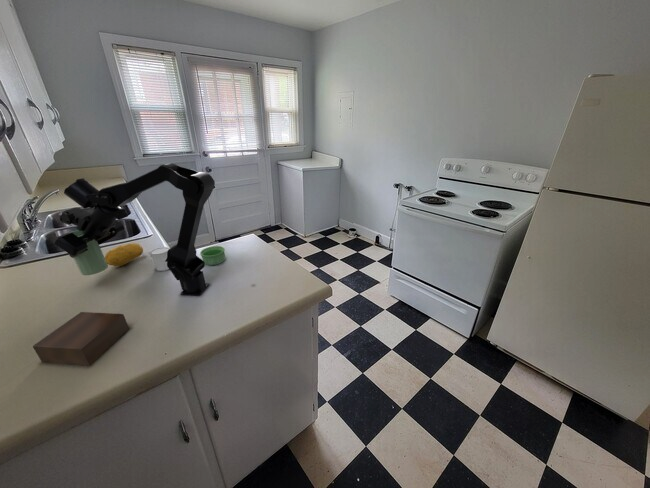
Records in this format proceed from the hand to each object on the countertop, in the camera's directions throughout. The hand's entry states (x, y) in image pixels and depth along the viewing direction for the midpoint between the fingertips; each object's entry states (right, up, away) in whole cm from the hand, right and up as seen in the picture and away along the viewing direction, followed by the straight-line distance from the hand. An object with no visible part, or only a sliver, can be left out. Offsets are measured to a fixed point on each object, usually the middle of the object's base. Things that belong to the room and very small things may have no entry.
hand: (82, 251), depth 85 cm
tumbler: (+2, -6, +3) cm, 7 cm away
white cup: (+15, -7, +18) cm, 25 cm away
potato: (-2, -2, +20) cm, 20 cm away
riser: (+18, -23, -18) cm, 34 cm away
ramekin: (+33, -4, +22) cm, 40 cm away
